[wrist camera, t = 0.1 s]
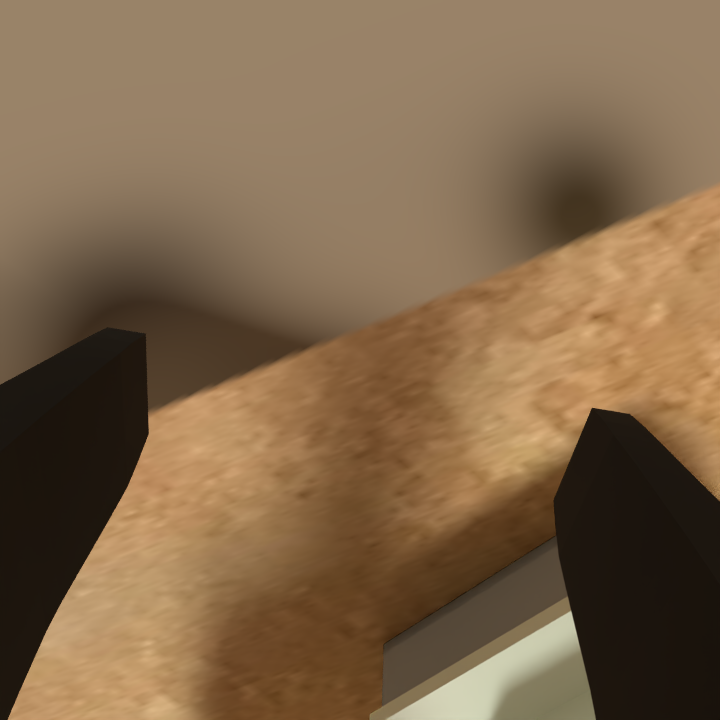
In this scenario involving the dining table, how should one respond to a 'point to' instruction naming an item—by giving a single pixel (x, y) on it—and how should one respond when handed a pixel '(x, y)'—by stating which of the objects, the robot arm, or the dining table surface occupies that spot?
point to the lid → (508, 678)
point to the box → (473, 620)
